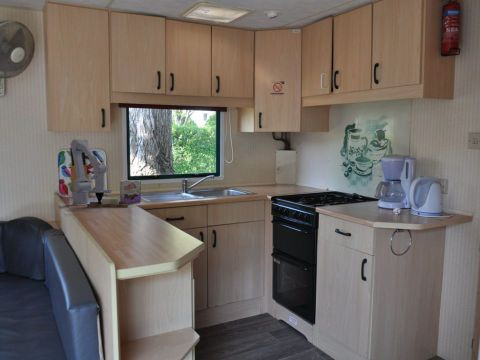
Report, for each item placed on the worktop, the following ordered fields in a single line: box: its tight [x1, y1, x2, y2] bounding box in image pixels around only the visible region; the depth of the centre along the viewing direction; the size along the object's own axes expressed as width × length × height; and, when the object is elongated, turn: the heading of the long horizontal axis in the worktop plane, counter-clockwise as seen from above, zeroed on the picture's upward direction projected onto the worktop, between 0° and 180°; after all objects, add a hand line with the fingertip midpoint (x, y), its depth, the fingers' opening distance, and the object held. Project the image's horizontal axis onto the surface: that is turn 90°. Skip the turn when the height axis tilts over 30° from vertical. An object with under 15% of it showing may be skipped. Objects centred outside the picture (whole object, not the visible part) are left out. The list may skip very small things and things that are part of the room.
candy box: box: [119, 179, 142, 203], centre depth 301 cm, size 14×6×16 cm, turn 105°
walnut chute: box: [86, 201, 130, 208], centre depth 282 cm, size 25×13×3 cm, turn 100°
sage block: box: [109, 197, 120, 204], centre depth 282 cm, size 5×6×5 cm
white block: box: [101, 197, 111, 204], centre depth 281 cm, size 5×6×5 cm
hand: (99, 204), depth 281 cm, fingers closed
